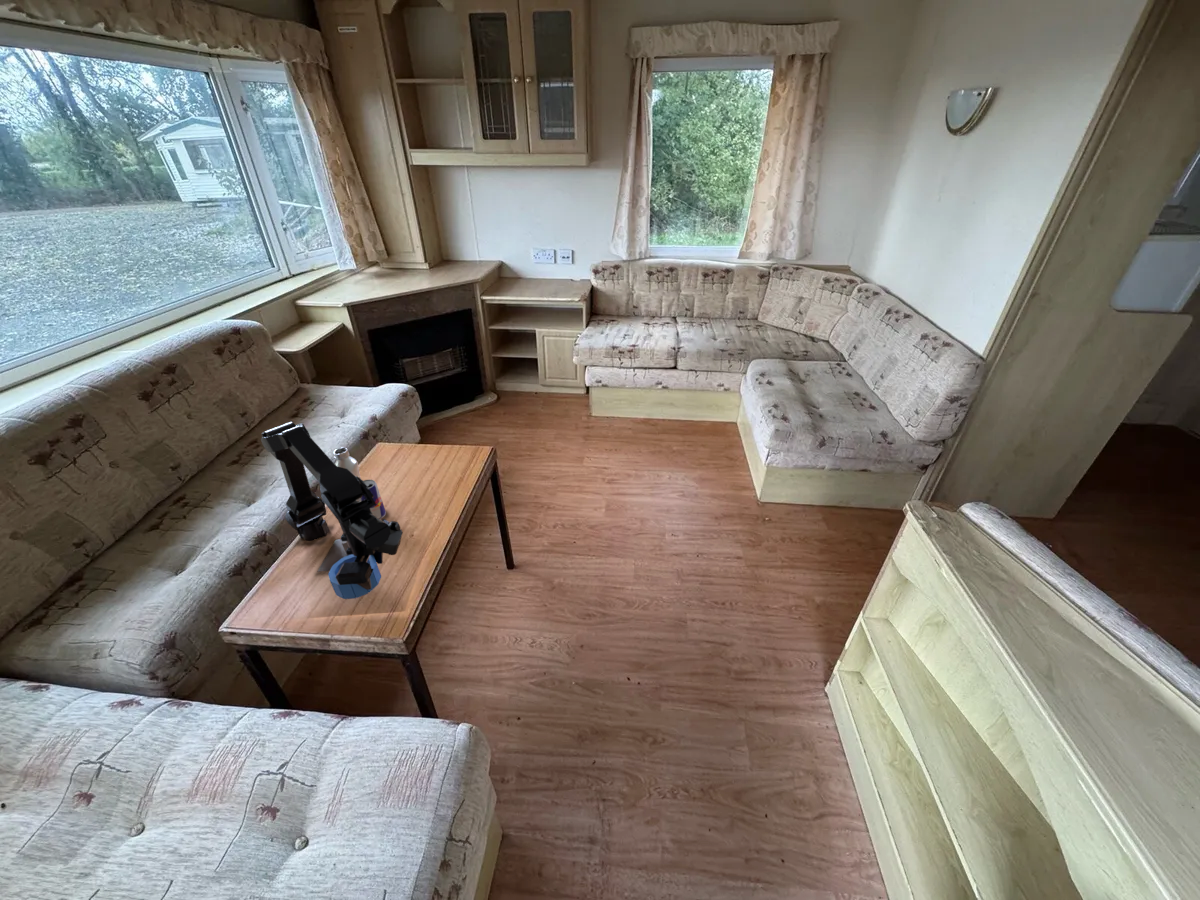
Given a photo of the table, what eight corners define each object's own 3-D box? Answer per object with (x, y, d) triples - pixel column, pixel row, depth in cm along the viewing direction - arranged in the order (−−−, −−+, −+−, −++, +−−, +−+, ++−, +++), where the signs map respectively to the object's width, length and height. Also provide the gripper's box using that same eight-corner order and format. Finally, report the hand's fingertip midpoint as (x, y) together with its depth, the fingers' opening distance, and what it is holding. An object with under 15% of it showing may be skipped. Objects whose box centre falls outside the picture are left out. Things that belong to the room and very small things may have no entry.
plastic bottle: (343, 509, 146) (322, 454, 136) (360, 497, 151) (341, 443, 141) (359, 514, 144) (339, 459, 133) (376, 501, 149) (358, 447, 139)
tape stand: (318, 573, 124) (311, 559, 121) (336, 541, 134) (330, 527, 131) (365, 570, 125) (360, 556, 122) (380, 539, 135) (375, 525, 132)
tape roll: (327, 600, 111) (321, 586, 109) (344, 567, 120) (338, 553, 117) (372, 597, 112) (367, 583, 109) (386, 565, 120) (381, 551, 118)
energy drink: (379, 523, 140) (368, 491, 134) (363, 521, 141) (351, 489, 135) (390, 512, 145) (379, 480, 138) (374, 510, 146) (363, 478, 139)
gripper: (380, 553, 99) (397, 604, 108) (404, 498, 115) (418, 546, 123) (324, 557, 99) (347, 608, 107) (357, 501, 114) (374, 549, 123)
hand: (374, 575), depth 115 cm, fingers closed on tape roll, 8 cm apart
